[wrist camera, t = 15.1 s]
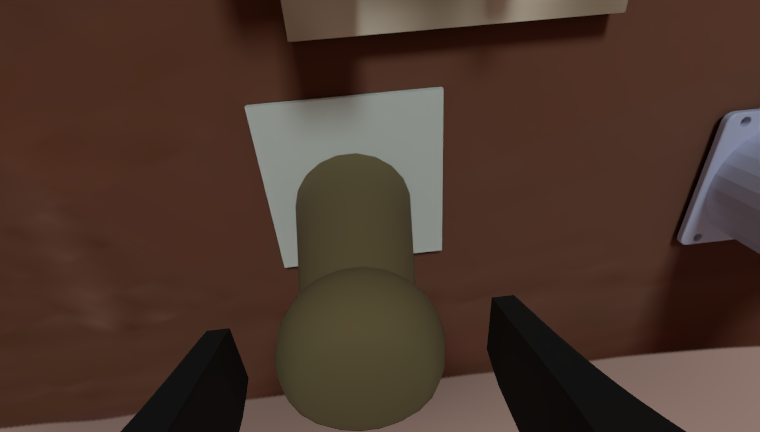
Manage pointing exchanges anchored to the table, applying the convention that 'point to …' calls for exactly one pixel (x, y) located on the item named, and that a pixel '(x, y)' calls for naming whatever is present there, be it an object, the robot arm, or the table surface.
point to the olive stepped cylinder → (357, 302)
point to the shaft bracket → (423, 14)
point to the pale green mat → (352, 152)
